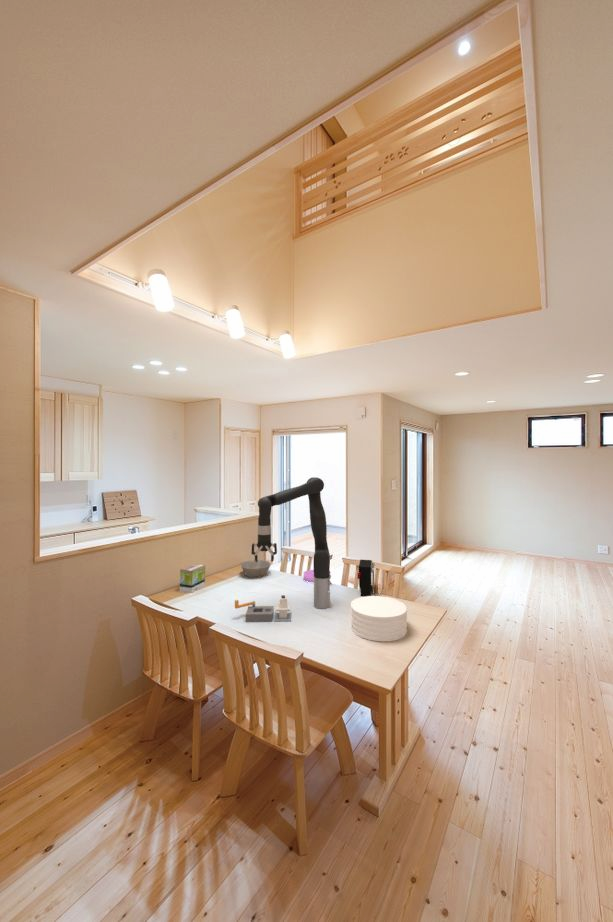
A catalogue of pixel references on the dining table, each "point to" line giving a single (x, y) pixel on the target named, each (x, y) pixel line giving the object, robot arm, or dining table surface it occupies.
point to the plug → (283, 607)
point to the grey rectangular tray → (259, 614)
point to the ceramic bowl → (255, 568)
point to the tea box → (192, 578)
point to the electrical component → (366, 577)
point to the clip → (243, 604)
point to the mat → (282, 618)
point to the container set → (310, 576)
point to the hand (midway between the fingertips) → (264, 561)
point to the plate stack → (378, 618)
